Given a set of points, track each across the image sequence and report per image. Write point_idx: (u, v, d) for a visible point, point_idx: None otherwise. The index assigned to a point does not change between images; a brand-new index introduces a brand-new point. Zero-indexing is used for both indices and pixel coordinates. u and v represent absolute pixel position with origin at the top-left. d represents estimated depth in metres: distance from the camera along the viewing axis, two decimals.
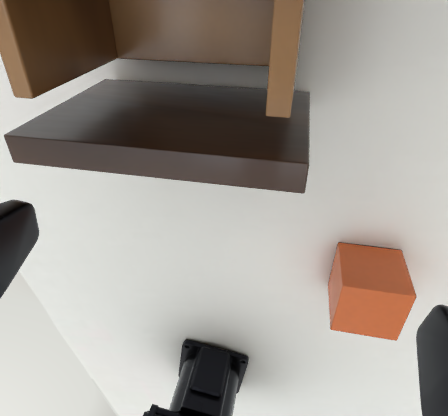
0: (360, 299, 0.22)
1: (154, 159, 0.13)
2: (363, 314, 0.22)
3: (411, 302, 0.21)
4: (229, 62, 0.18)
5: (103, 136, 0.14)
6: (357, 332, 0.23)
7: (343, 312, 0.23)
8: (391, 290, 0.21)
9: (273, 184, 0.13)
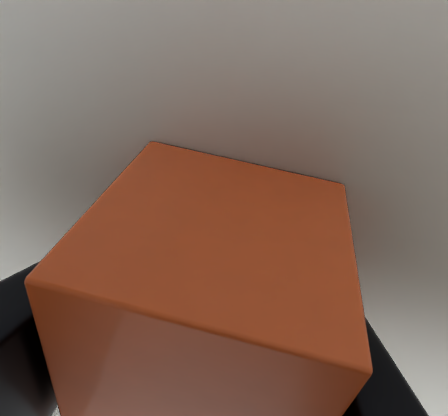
0: (119, 350, 0.05)
1: None
2: (152, 407, 0.05)
3: (345, 394, 0.04)
4: None
5: None
6: None
7: (78, 389, 0.06)
8: (257, 324, 0.04)
9: None
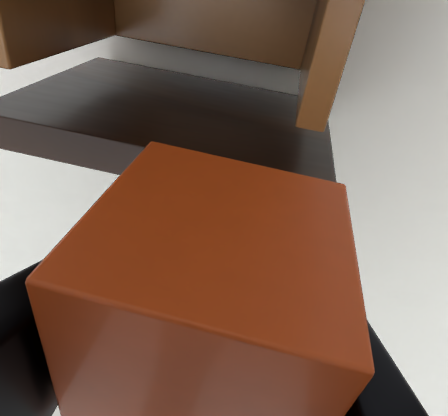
0: (119, 351, 0.05)
1: None
2: (153, 407, 0.05)
3: (347, 395, 0.04)
4: (243, 57, 0.16)
5: (93, 126, 0.11)
6: None
7: (78, 389, 0.06)
8: (259, 324, 0.04)
9: None
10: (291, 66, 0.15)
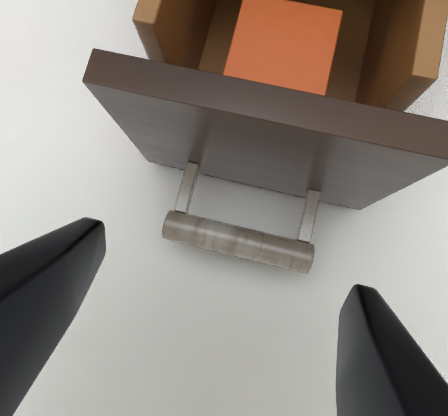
0: (267, 16, 0.15)
1: (277, 98, 0.11)
2: (272, 45, 0.14)
3: (337, 20, 0.15)
4: None
5: None
6: None
7: (243, 42, 0.15)
8: (310, 8, 0.15)
9: (420, 145, 0.10)
10: None
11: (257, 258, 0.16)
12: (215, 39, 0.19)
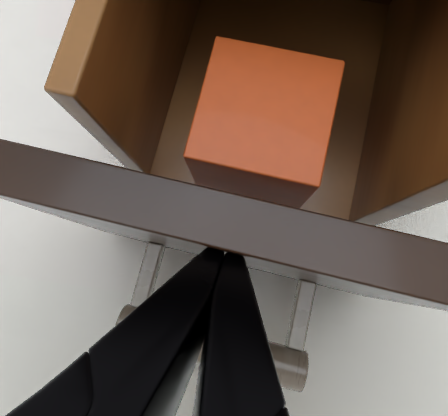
0: (245, 67, 0.11)
1: (248, 216, 0.07)
2: (251, 108, 0.11)
3: (338, 74, 0.11)
4: None
5: None
6: (238, 162, 0.11)
7: (213, 102, 0.11)
8: (302, 56, 0.11)
9: None
10: None
11: None
12: (187, 82, 0.16)
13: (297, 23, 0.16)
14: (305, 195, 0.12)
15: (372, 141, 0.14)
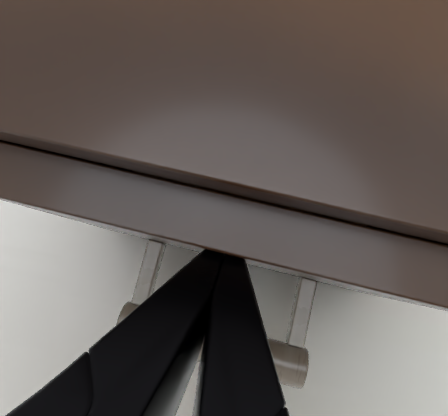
0: None
1: (248, 219, 0.07)
2: None
3: None
4: None
5: None
6: None
7: None
8: None
9: None
10: None
11: None
12: None
13: None
14: None
15: None
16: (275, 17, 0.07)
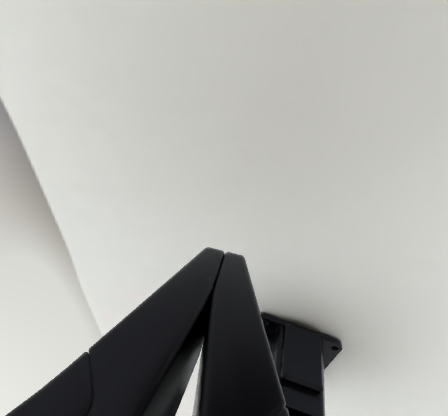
0: None
1: None
2: None
3: None
4: None
5: None
6: None
7: None
8: None
9: None
10: None
11: None
12: None
13: None
14: None
15: None
16: None
